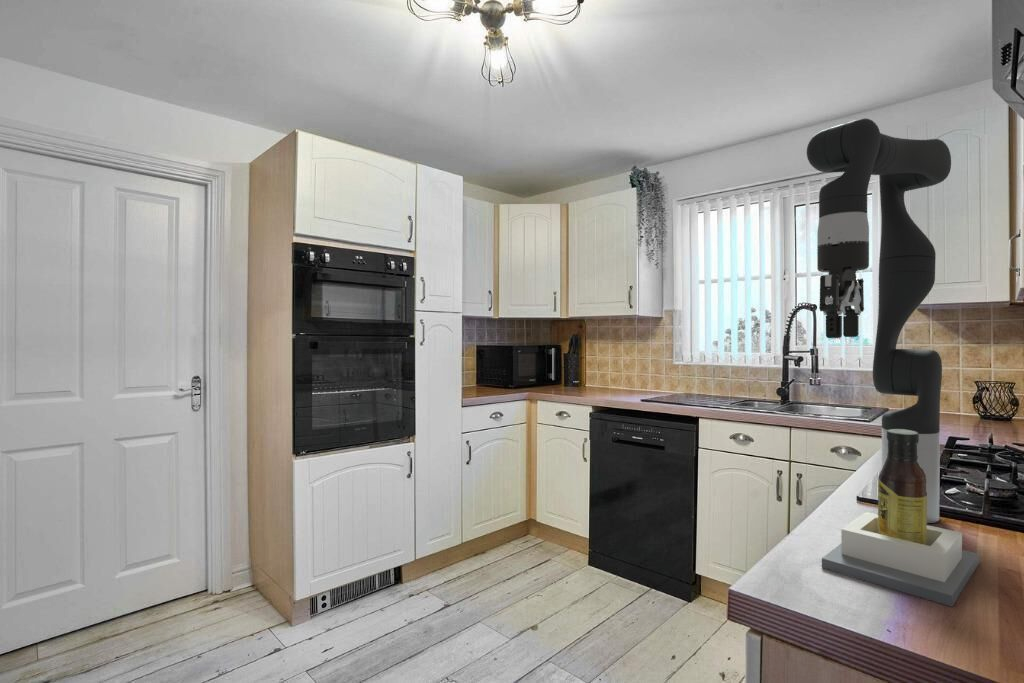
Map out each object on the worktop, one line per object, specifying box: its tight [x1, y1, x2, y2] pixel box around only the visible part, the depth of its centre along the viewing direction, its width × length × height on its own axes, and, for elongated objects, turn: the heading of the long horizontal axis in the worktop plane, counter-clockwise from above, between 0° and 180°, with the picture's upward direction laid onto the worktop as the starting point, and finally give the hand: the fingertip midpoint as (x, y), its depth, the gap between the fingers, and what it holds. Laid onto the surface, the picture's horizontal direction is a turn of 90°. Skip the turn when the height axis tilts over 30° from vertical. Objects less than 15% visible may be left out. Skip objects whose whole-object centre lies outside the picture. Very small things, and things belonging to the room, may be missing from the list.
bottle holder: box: [821, 511, 980, 607], centre depth 84 cm, size 20×16×6 cm
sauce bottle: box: [877, 429, 928, 545], centre depth 84 cm, size 7×6×20 cm
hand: (842, 337), depth 91 cm, fingers open, 8 cm apart
